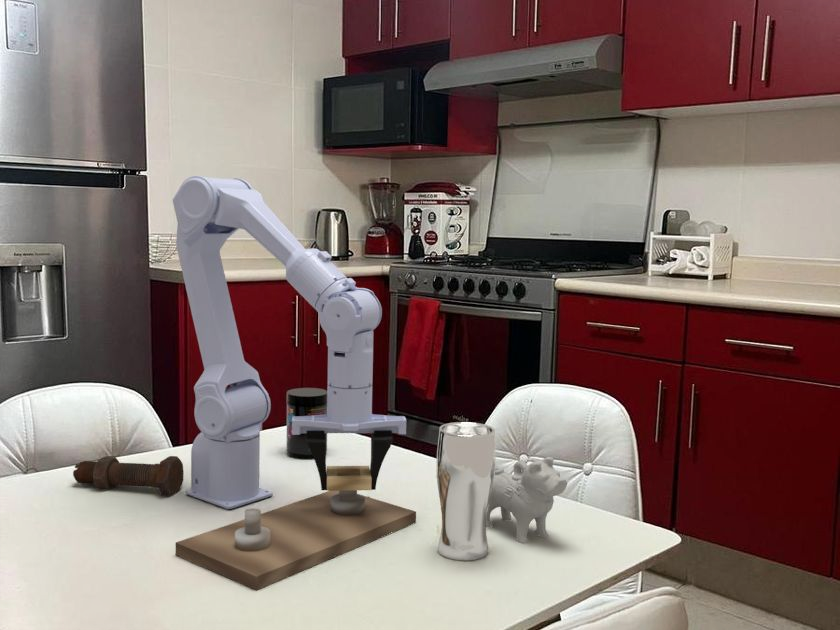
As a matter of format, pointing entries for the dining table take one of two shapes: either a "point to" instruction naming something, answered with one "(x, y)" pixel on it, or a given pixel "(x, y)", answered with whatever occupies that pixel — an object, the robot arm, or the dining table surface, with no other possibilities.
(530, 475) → the dog figurine
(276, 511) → the board
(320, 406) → the supplement container
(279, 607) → the dining table surface
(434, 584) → the dining table surface
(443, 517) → the beer glass
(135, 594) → the dining table surface
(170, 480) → the bolt
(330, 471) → the square wooden ring
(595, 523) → the dining table surface
